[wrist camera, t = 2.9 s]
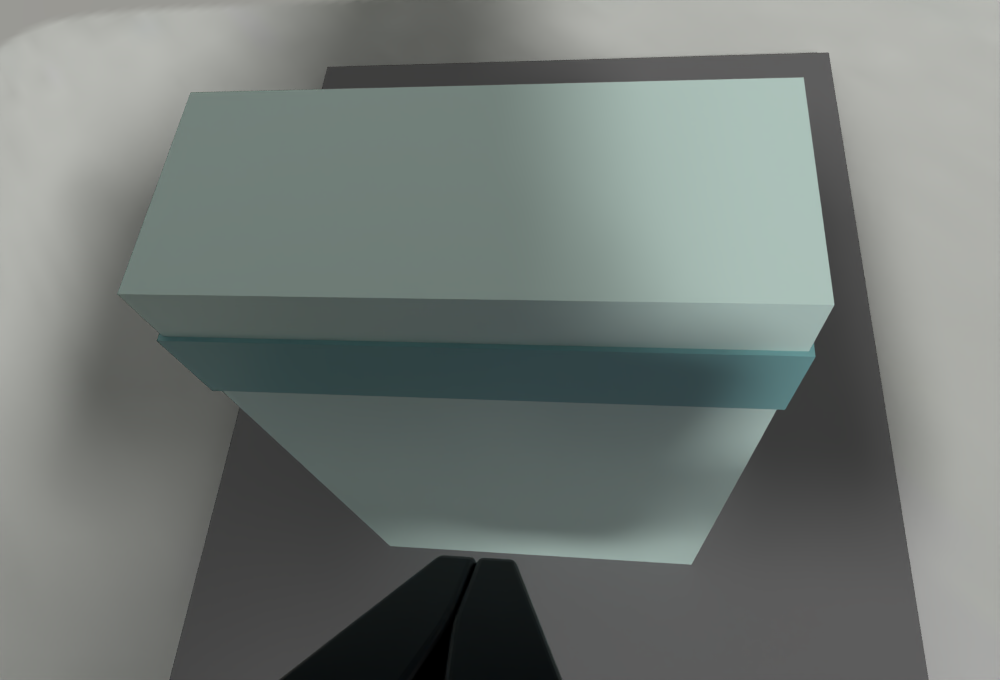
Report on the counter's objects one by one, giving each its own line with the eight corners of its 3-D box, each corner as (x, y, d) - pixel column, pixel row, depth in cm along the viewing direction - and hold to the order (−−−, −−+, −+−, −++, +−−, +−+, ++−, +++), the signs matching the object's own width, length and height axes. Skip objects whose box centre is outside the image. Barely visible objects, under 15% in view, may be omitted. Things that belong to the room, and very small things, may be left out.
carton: (693, 567, 15) (842, 309, 6) (387, 548, 15) (109, 298, 7) (690, 444, 16) (807, 73, 7) (404, 432, 17) (186, 88, 8)
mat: (1037, 1464, 10) (1059, 1499, 9) (38, 1255, 12) (15, 1276, 11) (823, 67, 21) (828, 52, 20) (332, 79, 23) (327, 66, 22)
